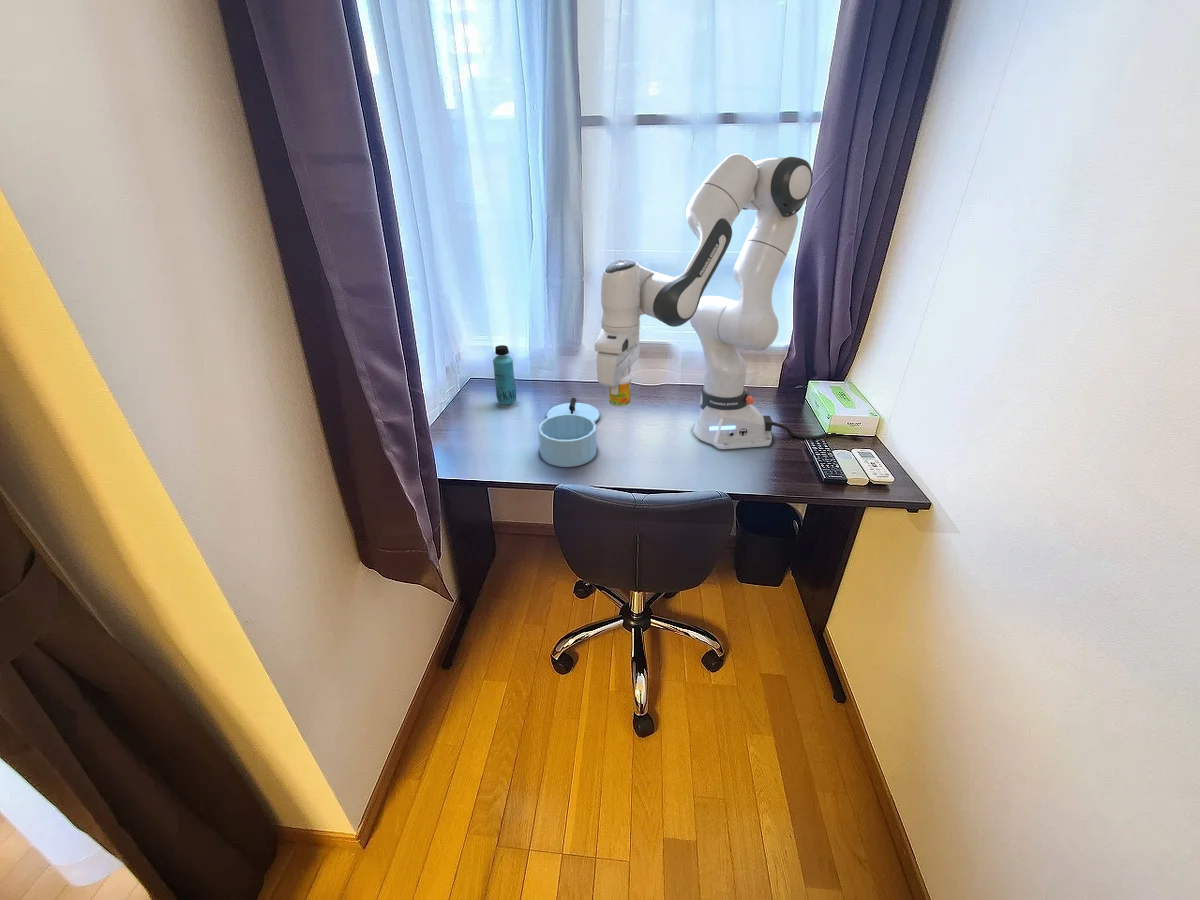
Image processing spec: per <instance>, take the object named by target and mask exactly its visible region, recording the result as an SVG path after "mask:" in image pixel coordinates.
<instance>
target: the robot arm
mask: <svg viewBox="0 0 1200 900" xmlns="http://www.w3.org/2000/svg"><path fill="white" fill-rule="evenodd" d="M813 177H814V176H813V171H812V166H811V165H810V163H809V162H808V161H807V160H805V159H804V158H800V157H797V156H787V157H768V158H765V159H760V160H759V159H758V160H755V161H753V160H752V159H751V158H750V157H748V156H747V155H745V154H741V153H733V154H730V155H728V156H726V157H725V158H724V159H723V160H722V161H721V162H720V163H719V164H718V165H717V166H716V167H715V168H714V169H713V170H712V171H711V172H710V173H709V175H708V176H706V178H705V179H704V180H703V182H702V183H701V185H700V186H699V187H698V188H697V190H696V191H695V193H694V194H693V196H692V197H691V199H690V201H689V203H688V205H687V207H686V221H687V225H688V227H689V229H690V230H691V232H692V233H693V234H694V236H695V237H696V238H697V239H698V240H699V244H698V246H697V248H696V250H695V251H694V254H693V255H692V257H691V259H690V260H689V262H688V264H687V266H686V267H685V269H684V271H683V272H682V273H681V274H679V275H677V276H670V275H667V274H664V273H661V272H658V271H654V270H651V269H649V268H646V267H643V266H642V265H640V264H639V263H638V262H637V260H634V259H629V258H625V259H618V260H615V261H612V262H609V264H607V265H606V266H605V268H604V270H603V272H602V276H601V277H602V278H601V286H600V287H601V288H600V289H601V291H600V303H601V308H602V317H601V328H600V330H599V334H598V337H597V339H596V340H595V342H594V351H595V352H597V354H596V374H597V376H596V377H597V381H598V383H599V385H600V386H606V387H609V386H610V387H611V394H612V395H618V393H619V392H620V386H618V382H619V379H620V378H621V377H622V376H623V375H624V373H625V372H626V369H627V368H628V374H629V375H630V374H631V370H632V366H633V365H634V364H635V363H636V362H637V360H638V359H639V357H640V353H641V351H640V350H641V347H640V344H641V343H640V327H641V326H640V323H641V322H640V321H641V319H640V317H641V316H643V315H646V316H649V317H651V318H654V319H657V320H658V321H660V322H661V323H663V324H665V325H667V326H668V327H671V328H676V327H680V326H683V325H685V324H686V323H687V322H689V321H690V325H691V327H692V328H693V330H694V331H695V333H696V334H697V336H698V338H699V341H700V343H701V347H702V350H703V355H704V363H705V364H704V367H705V368H704V379H703V380H704V381H703V386H702V387H701V392H700V399H699V406H700V408H699V412H698V416H697V419H696V421H695V422H696V423H695V425H694V427H693V429H692V430H693V431H692V432H693V435H694V436H695V438H697V439H698V440H700V441H702V442H704V443H707V444H710V445H711V446H713V447H715V448H717V449H718V450H733V449H745V448H746V449H748V448H760V447H761V448H763V447H770V445H771V444H772V441H773V435H772V430H773V429H772V428H773V426H774V427H778V428H781V429H783V430H785V431H786V432H787V434H788V435H790V437H791V436H792V437H794V438H796V439H801V440H820V439H824V438H826V437H829V436H844V435H843V434H836V433H831V434H828V432H825V433H822V434H819V435H803V434H798V433H795V432H793V431H792V430H791V428H789V427H788V426H786V425H785V424H783V423H779V422H775V421H773V420H772V417H771V415H763V413H762V412H761V410H759V408H757V407H756V406H754V405H753V404H754V403H755V399H754V397H753V396H751V393H750V392H749V391H748V390H747V389H746V387H745V383H746V377H747V371H748V370H747V369H748V367H747V363H746V361H745V359H744V357H743V356H742V355H741V354H740V351H739V350H738V348H740V349H743V350H748V351H761V352H762V351H763V350H766V349H768V348H769V347H771V345H773V343H774V342H775V340H776V339H777V337H778V334H779V330H780V328H779V327H780V324H779V319H778V316H777V314H776V313H775V311H774V307H773V291H774V287H775V284H776V282H777V279H778V276H779V274H780V272H781V269H782V267H783V265H784V263H785V260H786V258H787V256H788V254H789V251H790V250H791V247H792V244H793V242H794V239H795V236H796V232H797V228H798V224H799V216H798V214H797V213H799V211H800V210H801V209H802V207H803V206H804V203H805V202H806V201H807V198H808V196H809V194H810V192H811V189H812V185H813ZM746 210H752V211H755V220H754V224H753V225H752V227H751V229H750V231H749V233H748V235H747V238H746V239H745V241H744V243H743V246H742V248H741V250H740V252H739V255H738V257H737V259H736V261H735V263H734V266H733V268H732V276H733V279H734V280H735V282H736V283H737V284H738V286H739V293H738V296H737V299H732V298H728V297H724V296H722V295H703V294H704V292H705V291H706V288H707V286H708V284H709V283H710V282H711V279H712V278H713V276H714V274H715V272H716V270H717V269H718V266H719V265H720V263H721V262H722V260H723V258H724V255H725V254H726V252H727V250H728V249H729V246H730V243H731V241H732V237H733V229H732V226H733V224H734V222H735V221H736V219H737V218H738V216H739V215H740V213H742V211H746ZM845 436H846V437H850V438H852V439H853V440H854V441H859V438H858V436H856V437H852V436H848V435H845Z"/></svg>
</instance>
